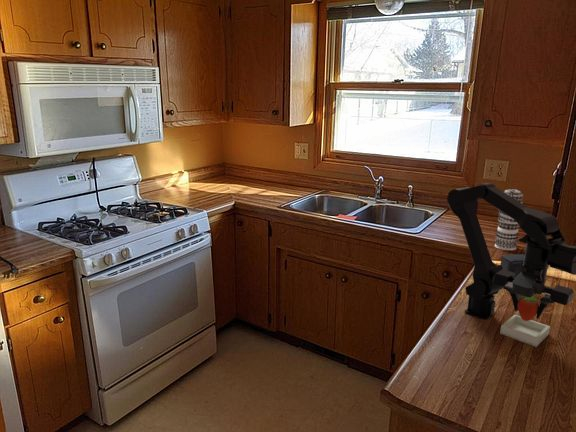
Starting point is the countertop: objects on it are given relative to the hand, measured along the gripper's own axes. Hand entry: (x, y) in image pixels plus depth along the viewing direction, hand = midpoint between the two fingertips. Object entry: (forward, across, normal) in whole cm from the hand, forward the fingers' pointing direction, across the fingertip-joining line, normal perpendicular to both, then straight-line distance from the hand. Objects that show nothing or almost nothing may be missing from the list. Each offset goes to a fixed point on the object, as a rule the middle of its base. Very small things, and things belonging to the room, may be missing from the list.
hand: (526, 314), depth 123 cm
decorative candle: (+6, -33, +70) cm, 78 cm away
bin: (+6, 0, 0) cm, 6 cm away
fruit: (+2, 0, 0) cm, 2 cm away
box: (+6, -15, +31) cm, 35 cm away
